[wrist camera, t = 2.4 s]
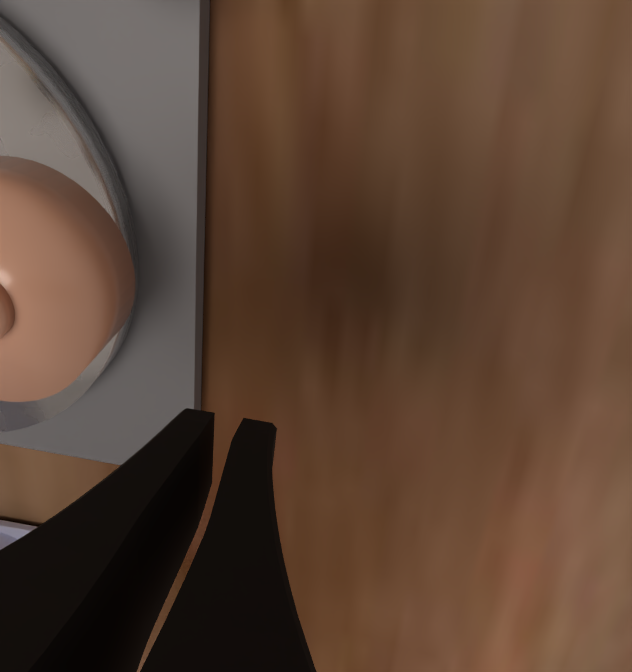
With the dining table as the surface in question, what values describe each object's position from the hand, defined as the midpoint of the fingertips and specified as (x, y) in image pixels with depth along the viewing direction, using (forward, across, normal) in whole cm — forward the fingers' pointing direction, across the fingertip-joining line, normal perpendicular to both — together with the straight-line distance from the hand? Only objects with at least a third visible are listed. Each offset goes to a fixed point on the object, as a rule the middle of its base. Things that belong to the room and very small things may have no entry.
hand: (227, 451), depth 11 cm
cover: (+7, +8, 0) cm, 11 cm away
